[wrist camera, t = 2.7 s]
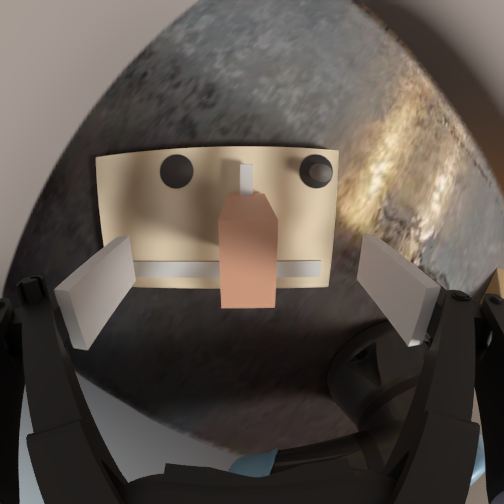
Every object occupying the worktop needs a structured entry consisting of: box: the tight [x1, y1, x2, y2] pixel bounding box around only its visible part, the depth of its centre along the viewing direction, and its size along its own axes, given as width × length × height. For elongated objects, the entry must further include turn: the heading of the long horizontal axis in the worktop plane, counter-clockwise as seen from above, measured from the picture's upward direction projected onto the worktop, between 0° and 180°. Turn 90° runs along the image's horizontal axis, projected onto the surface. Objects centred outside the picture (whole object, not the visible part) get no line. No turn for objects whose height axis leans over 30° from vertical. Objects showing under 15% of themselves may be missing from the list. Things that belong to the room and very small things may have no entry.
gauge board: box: [96, 146, 339, 288], centre depth 25 cm, size 22×13×4 cm, turn 90°
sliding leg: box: [218, 164, 278, 308], centre depth 19 cm, size 3×8×10 cm, turn 0°
